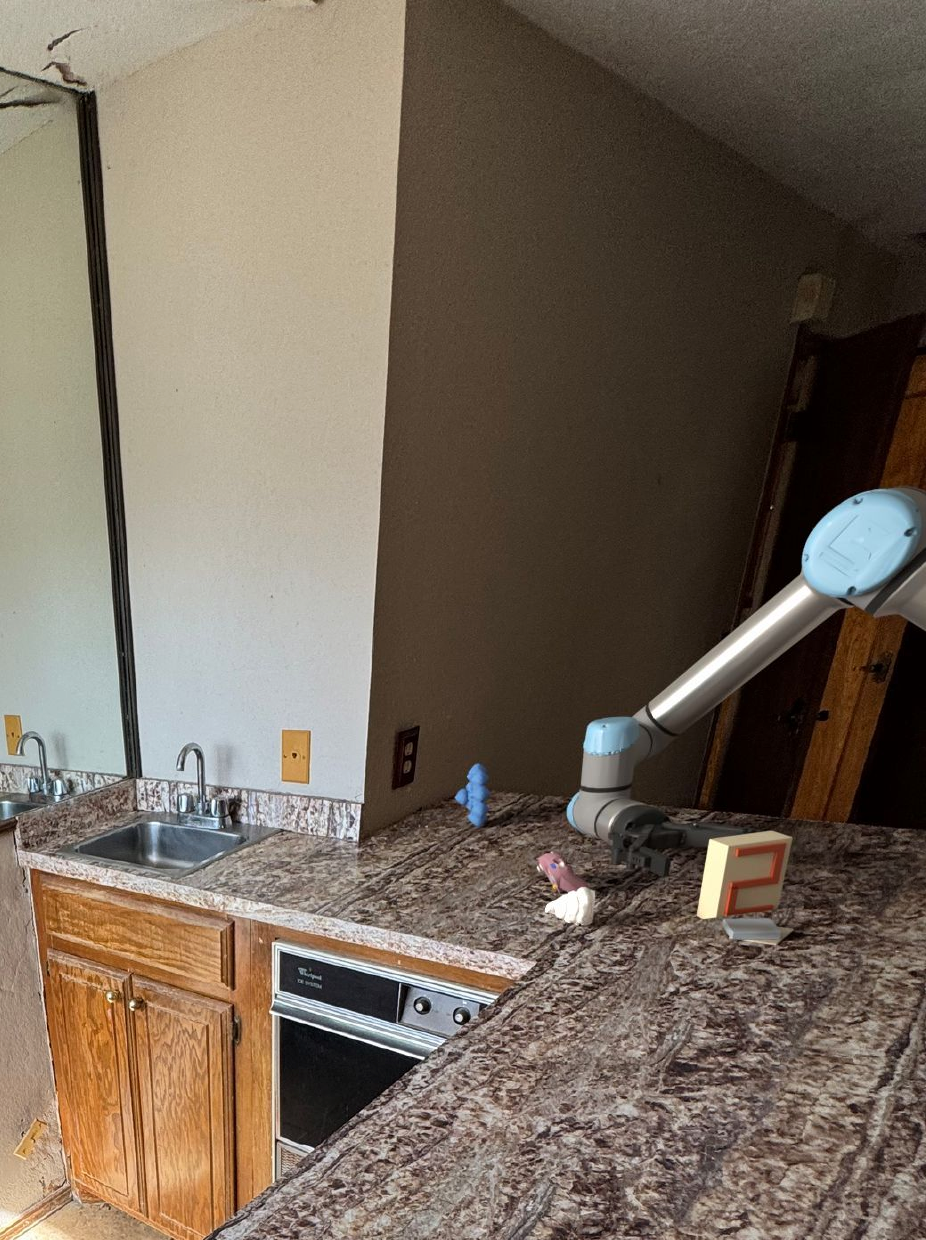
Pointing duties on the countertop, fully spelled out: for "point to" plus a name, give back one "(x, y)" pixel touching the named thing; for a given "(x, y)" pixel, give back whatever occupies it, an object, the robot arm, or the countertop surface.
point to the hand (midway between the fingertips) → (718, 860)
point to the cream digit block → (743, 874)
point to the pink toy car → (560, 873)
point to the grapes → (475, 795)
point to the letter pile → (755, 930)
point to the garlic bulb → (574, 906)
